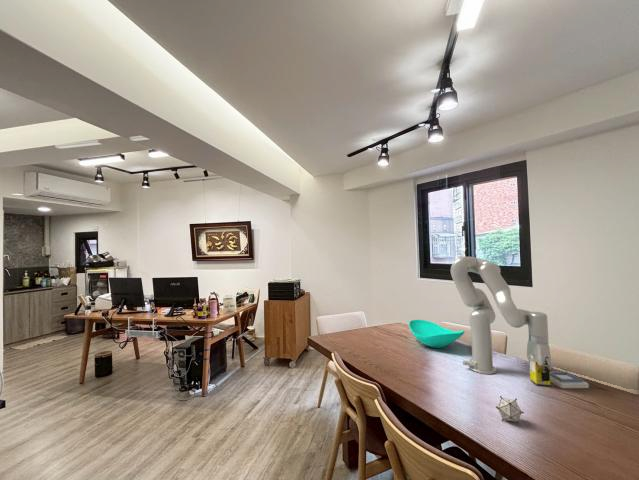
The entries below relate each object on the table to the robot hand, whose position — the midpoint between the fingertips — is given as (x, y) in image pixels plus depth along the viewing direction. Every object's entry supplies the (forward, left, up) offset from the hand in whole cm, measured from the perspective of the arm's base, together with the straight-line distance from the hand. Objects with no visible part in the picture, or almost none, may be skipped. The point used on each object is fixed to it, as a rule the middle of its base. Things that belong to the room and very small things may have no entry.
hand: (540, 377), depth 141 cm
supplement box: (0, 0, -3) cm, 3 cm away
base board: (+12, +1, -3) cm, 12 cm away
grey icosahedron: (-33, -31, -3) cm, 45 cm away
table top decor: (-28, +57, -3) cm, 64 cm away
